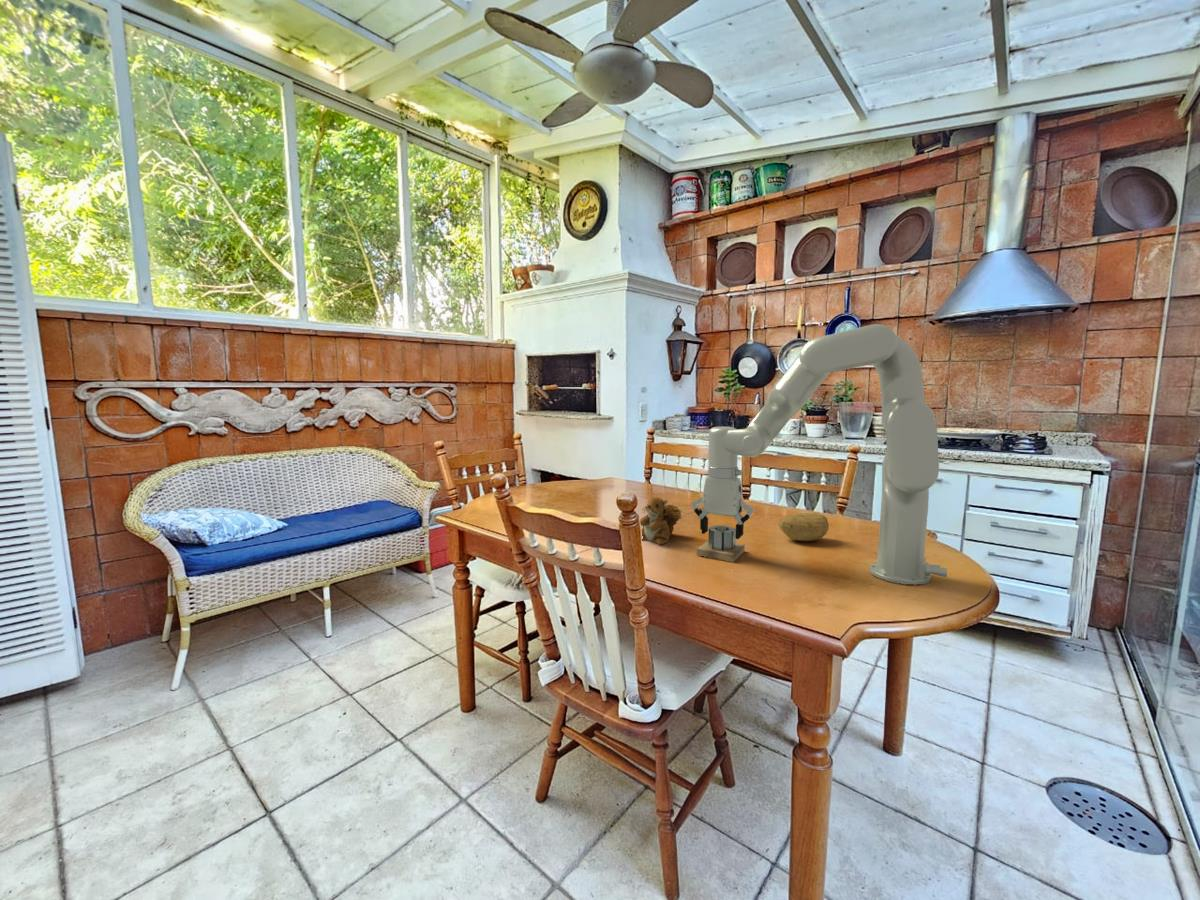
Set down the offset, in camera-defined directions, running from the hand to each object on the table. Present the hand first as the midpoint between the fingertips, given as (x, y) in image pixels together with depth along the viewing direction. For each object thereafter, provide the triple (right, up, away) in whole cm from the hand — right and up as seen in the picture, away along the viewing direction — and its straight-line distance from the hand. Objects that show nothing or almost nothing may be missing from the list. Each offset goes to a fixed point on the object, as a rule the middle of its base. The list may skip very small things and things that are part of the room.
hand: (721, 535), depth 139 cm
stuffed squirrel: (-15, -4, +15) cm, 22 cm away
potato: (+27, -4, +11) cm, 29 cm away
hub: (0, -3, 0) cm, 3 cm away
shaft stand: (0, -5, +1) cm, 5 cm away
